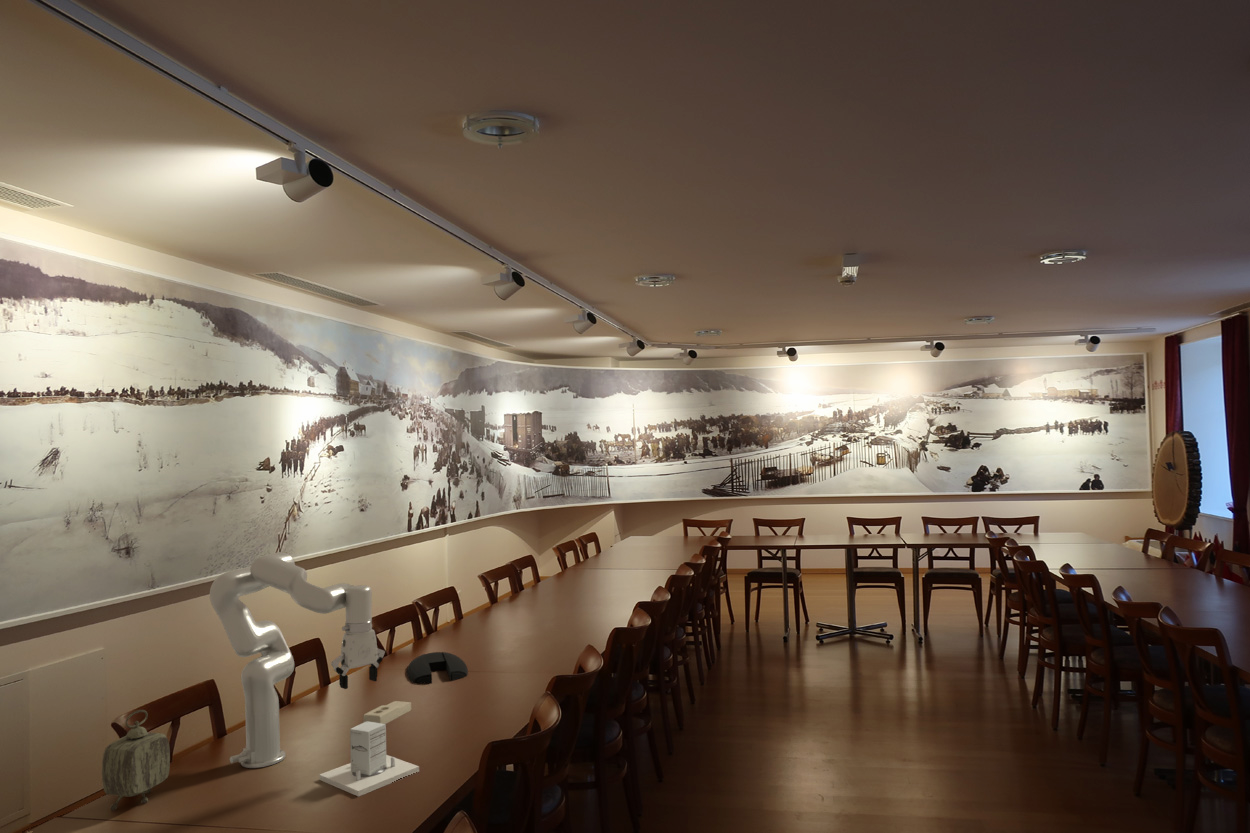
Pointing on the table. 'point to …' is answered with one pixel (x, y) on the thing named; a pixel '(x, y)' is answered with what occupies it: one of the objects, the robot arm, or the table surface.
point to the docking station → (436, 667)
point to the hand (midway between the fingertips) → (358, 684)
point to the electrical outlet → (387, 712)
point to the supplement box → (368, 747)
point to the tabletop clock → (135, 762)
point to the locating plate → (365, 783)
